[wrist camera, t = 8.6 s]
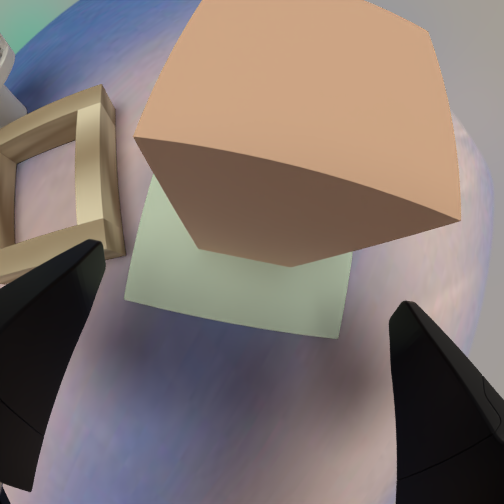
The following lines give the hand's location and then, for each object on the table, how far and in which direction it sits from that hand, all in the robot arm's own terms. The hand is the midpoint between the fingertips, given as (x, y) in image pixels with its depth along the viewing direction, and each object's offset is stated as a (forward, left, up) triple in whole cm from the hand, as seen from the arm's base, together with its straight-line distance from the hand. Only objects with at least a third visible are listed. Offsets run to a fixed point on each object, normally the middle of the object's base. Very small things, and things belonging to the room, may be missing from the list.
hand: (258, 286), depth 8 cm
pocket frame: (+6, +12, -8) cm, 16 cm away
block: (+4, -1, -7) cm, 8 cm away
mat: (+4, -1, -8) cm, 9 cm away
